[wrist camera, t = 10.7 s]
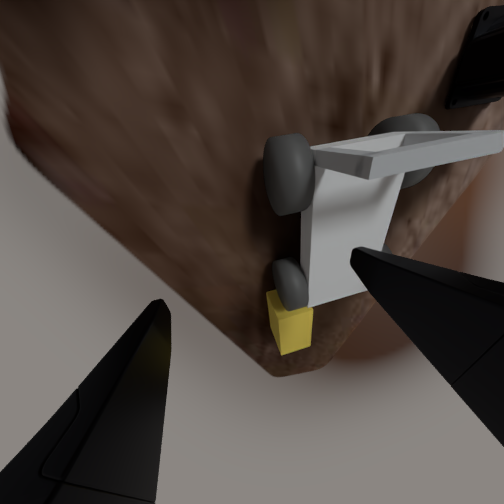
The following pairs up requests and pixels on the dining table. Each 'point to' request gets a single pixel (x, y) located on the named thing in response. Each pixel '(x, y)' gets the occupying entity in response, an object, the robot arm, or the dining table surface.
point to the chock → (289, 325)
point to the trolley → (352, 196)
